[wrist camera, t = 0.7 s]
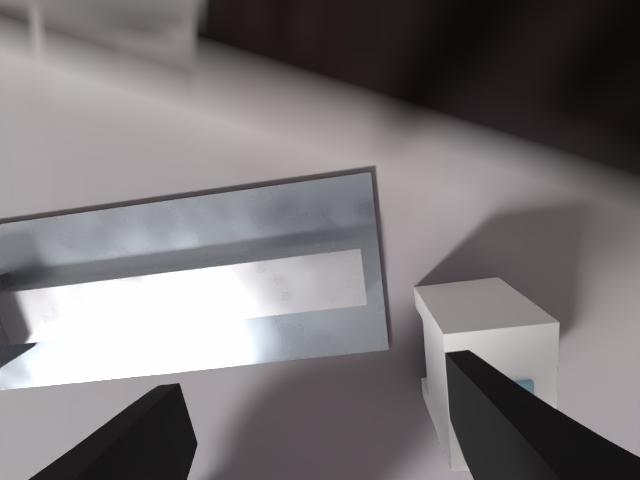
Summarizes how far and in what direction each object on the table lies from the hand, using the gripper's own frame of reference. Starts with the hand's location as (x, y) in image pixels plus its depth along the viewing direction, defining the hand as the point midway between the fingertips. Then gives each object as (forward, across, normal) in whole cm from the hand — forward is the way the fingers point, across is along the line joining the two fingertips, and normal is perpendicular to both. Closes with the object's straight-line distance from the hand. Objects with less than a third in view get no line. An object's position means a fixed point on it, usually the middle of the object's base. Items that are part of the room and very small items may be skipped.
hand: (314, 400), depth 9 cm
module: (+10, -7, +5) cm, 13 cm away
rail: (+10, +10, 0) cm, 14 cm away
